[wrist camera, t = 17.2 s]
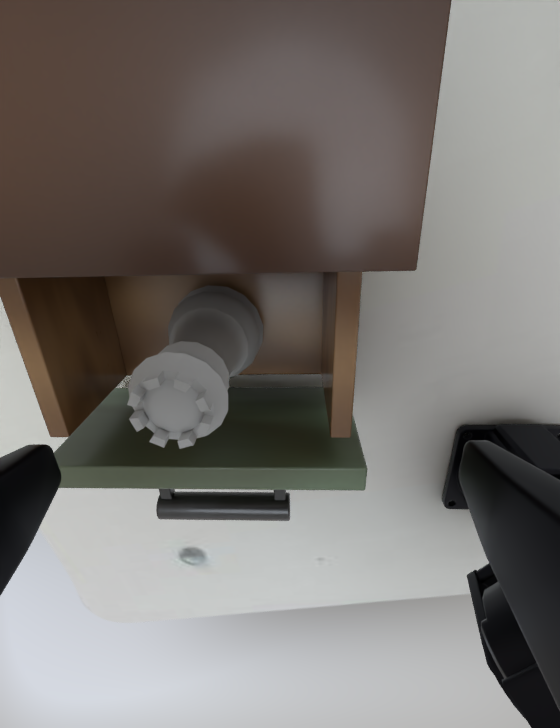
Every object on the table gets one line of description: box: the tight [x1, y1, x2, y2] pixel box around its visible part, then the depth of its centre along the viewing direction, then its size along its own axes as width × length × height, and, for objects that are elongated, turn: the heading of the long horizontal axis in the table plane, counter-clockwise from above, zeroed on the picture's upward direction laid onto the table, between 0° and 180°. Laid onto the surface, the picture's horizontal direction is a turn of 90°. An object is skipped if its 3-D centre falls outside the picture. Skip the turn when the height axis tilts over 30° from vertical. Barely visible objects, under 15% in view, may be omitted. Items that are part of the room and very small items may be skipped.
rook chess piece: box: [127, 285, 263, 449], centre depth 14 cm, size 4×4×8 cm
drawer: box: [0, 272, 367, 521], centre depth 16 cm, size 19×13×7 cm
